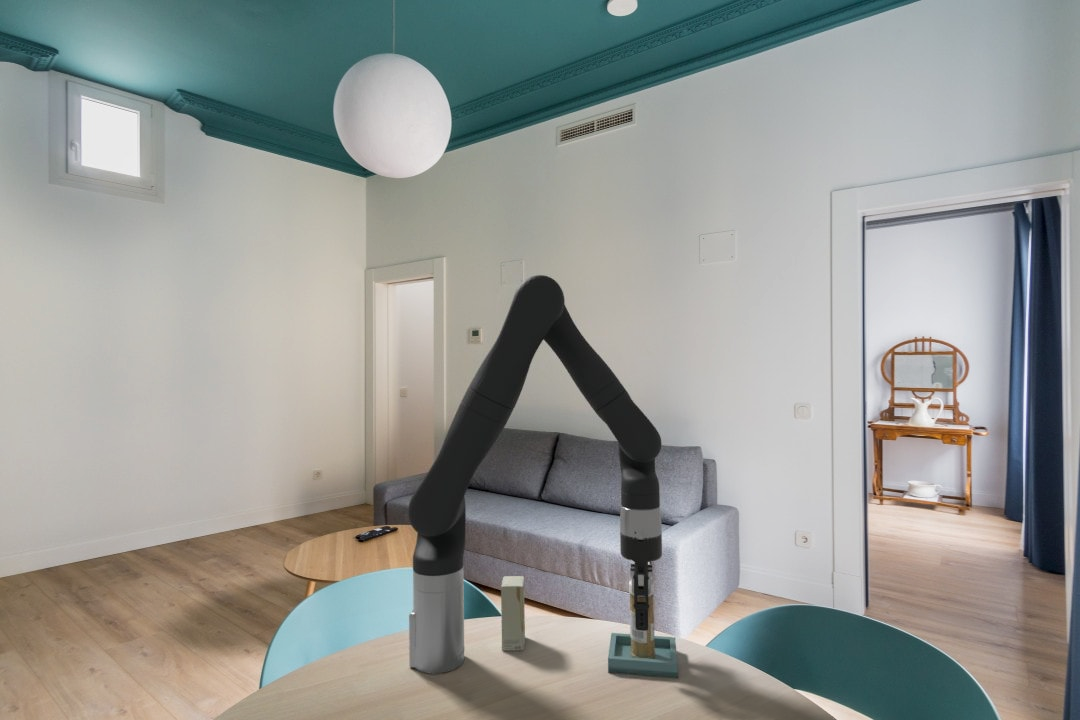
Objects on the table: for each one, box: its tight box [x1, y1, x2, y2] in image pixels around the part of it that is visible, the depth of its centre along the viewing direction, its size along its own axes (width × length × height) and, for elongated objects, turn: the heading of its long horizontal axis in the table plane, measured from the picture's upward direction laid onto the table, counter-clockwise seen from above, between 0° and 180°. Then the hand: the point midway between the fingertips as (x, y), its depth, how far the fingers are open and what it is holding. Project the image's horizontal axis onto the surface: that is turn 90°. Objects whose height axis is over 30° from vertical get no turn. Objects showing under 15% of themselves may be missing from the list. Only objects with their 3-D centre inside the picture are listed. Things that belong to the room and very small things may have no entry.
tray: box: [607, 632, 679, 679], centre depth 105 cm, size 12×10×2 cm
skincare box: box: [500, 575, 526, 651], centre depth 113 cm, size 6×4×12 cm
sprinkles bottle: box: [628, 579, 656, 659], centre depth 105 cm, size 5×5×13 cm
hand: (642, 619), depth 105 cm, fingers open, 8 cm apart
